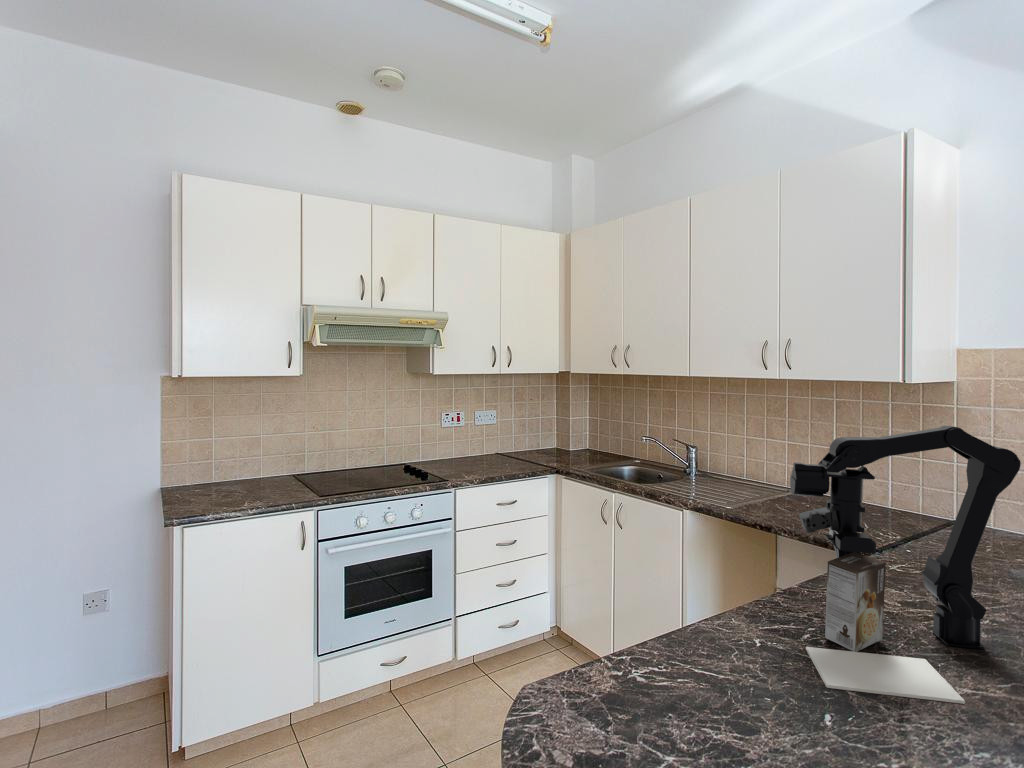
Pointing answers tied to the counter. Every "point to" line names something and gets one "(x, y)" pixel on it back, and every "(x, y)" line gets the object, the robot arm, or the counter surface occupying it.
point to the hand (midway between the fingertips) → (843, 573)
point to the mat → (882, 674)
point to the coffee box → (855, 601)
